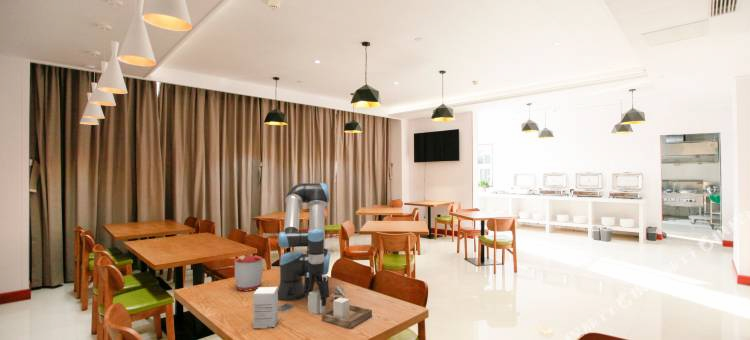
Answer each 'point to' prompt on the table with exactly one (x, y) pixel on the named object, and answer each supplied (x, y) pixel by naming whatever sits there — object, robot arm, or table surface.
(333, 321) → the brown wooden tray
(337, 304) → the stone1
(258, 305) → the supplement box
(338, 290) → the architectural model
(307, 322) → the table surface
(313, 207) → the robot arm
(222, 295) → the table surface
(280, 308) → the trowel
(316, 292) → the white upright block piece
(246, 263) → the grey bucket
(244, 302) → the table surface
